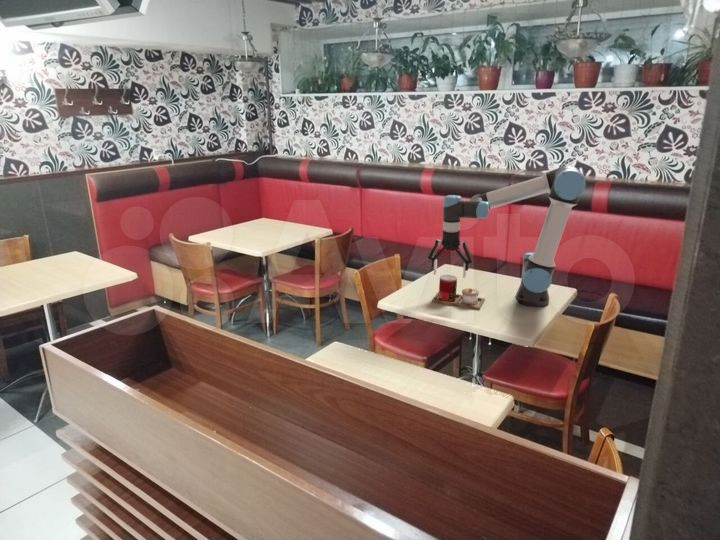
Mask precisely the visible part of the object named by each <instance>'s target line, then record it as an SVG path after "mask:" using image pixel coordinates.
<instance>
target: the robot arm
mask: <svg viewBox="0 0 720 540" xmlns="http://www.w3.org/2000/svg"><path fill="white" fill-rule="evenodd" d="M586 183H587V182H586V177H585V175H584V174H583V173H582V171H580V169H579V168H577V167H576V166H573V165H563V166H560V167H558V168H555V169H552V170H549V171H546V172H544V173H543V175H541V176H538V177H534V178H531V179H528V180H525V181H521V182H518V183H514V184H512V185H508V186H505V187H502V188H499V189H498V188H497V189H495V190H491V191H488V192H484V193H482V194H481V193H480V194H479V193H478V194H475V195H473V196H471V197H470V199H469V200H462V196H461V195H455V194H449V195H446V196H444V199H443V207H442V208H443V209H442V210H443V211H442V214H443V215H442V240H440V239H439V238H437V239H436V240H435V241H434V246H433V247H432V249H431V251H430V253H429V255H428V256H427V259H428V260H431V267H432V268H433V275H437V274H438V259H437V258H438V257H439V256H440V255H441V254H442V253H443V252H444V251H445V250H446V251H447V252H449V251H451V252H456V253H457V255H458V256H459V257H460V258H461V260H462V261H463V268H462V269H463V271H462V274H463V275H462V278H463V279H465V278H466V277H467V271H469V267H470V264H472V263H473V262H474V258H473V256H472V255H471V252H470V250H469V247H468V246H467V245H468V243H467V241H466V240H465V241H460V238H461V237H460V236H461V235H460V234H461V230H460V229H461V219H476V220H477V219H478V220H481V219H483V220H484V219H485V220H486V219H488V218H489V211H490V210H491V209H495V208H498V207H501V206H505V205H508V204H512V203H515V202H520V201H522V200H526V199H529V198H530V199H531V198H532V197H537V196H540V195H543V194H547V193H548V195H549V196H548V199H549V201H550V205H549V207H548V210H547V213H546V215H545V218H544V219H545V220H544V222H543V224H542V227H541V231H540V233H539V237H538V240H537V243H536V245H535V248H534V251H533V252H525V253H524V255H523V258H522V259H523V260H522V261H523V262H522V271H521V280H520V285H519V287H518V289H517V290H516V292H515V293H516V294H515V299H516V300H517V303H519V304H522V305H525V306H527V307H528V306H529V307H544V306H548V304H550V295H549V290H548V289H550V288H551V285H552V283H553V282H552V279H553V274H554V271H555V268H556V263H555V260H554V259H555V257H556V255H557V251H558V248H559V247H560V242H561V240H562V237H563V234H564V231H565V229H566V225H567V222H568V220H569V218H570V215H571V211H572V209H573V207H575V206H577V205H578V203H579V200H580V197H581V196H582V194H583V193H584V191H585V189H586ZM439 245H442V248H441V249H440V250H439V251H438V252H437V253H436V254H435V252H436V250H437V248H438V247H439ZM460 246H461V247H462V249H463V251H464V252H463V251H462V249H461V247H460Z"/></svg>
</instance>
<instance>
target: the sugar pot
mask: <svg viewBox="0 0 720 540" xmlns="http://www.w3.org/2000/svg"><path fill="white" fill-rule="evenodd" d="M479 294H480V291H479V290H478V289H475V288H472V287H471V288H470V287H468V288H463V289H462V290H461V295H462V304H467V305H474V306H476V305H477V303H478V297H479Z"/></svg>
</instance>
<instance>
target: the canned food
mask: <svg viewBox="0 0 720 540" xmlns="http://www.w3.org/2000/svg"><path fill="white" fill-rule="evenodd" d="M438 285H439V286H438V292H439V300H441V301H448V302H454V301H455V299H456V294H457V287H458V277H457V276H455V275H452V274H442V275H440V276H439V284H438Z"/></svg>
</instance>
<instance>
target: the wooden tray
mask: <svg viewBox="0 0 720 540" xmlns="http://www.w3.org/2000/svg"><path fill="white" fill-rule="evenodd" d="M485 301H486V298H485V297H479V296H478V303H477V305H476V306H474V305H467V304H462V294H460V293H459V294H457V293H456V299H455V301H454V302H448V301H441V300H439V291H437V293H436V294H435V295H434V296H433V298H432V299H431V303H432V304H433V303H434V304H440V305H446V306H452V307H459V308H464V309H471V310H476V311H477V310H479V311H480V310H481V309H482V306H483V304H484V303H485Z"/></svg>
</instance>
